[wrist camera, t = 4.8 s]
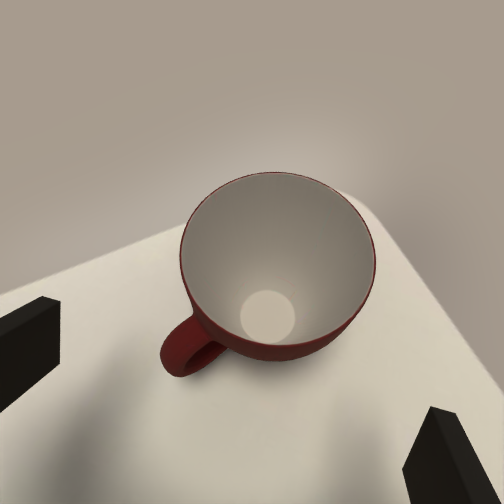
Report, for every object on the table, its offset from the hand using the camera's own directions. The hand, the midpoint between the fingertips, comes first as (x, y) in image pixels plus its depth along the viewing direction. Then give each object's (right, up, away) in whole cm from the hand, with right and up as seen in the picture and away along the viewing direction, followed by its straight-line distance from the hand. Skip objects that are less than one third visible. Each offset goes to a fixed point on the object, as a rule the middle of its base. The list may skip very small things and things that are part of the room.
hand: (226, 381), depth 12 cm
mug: (+1, -1, +11) cm, 11 cm away
